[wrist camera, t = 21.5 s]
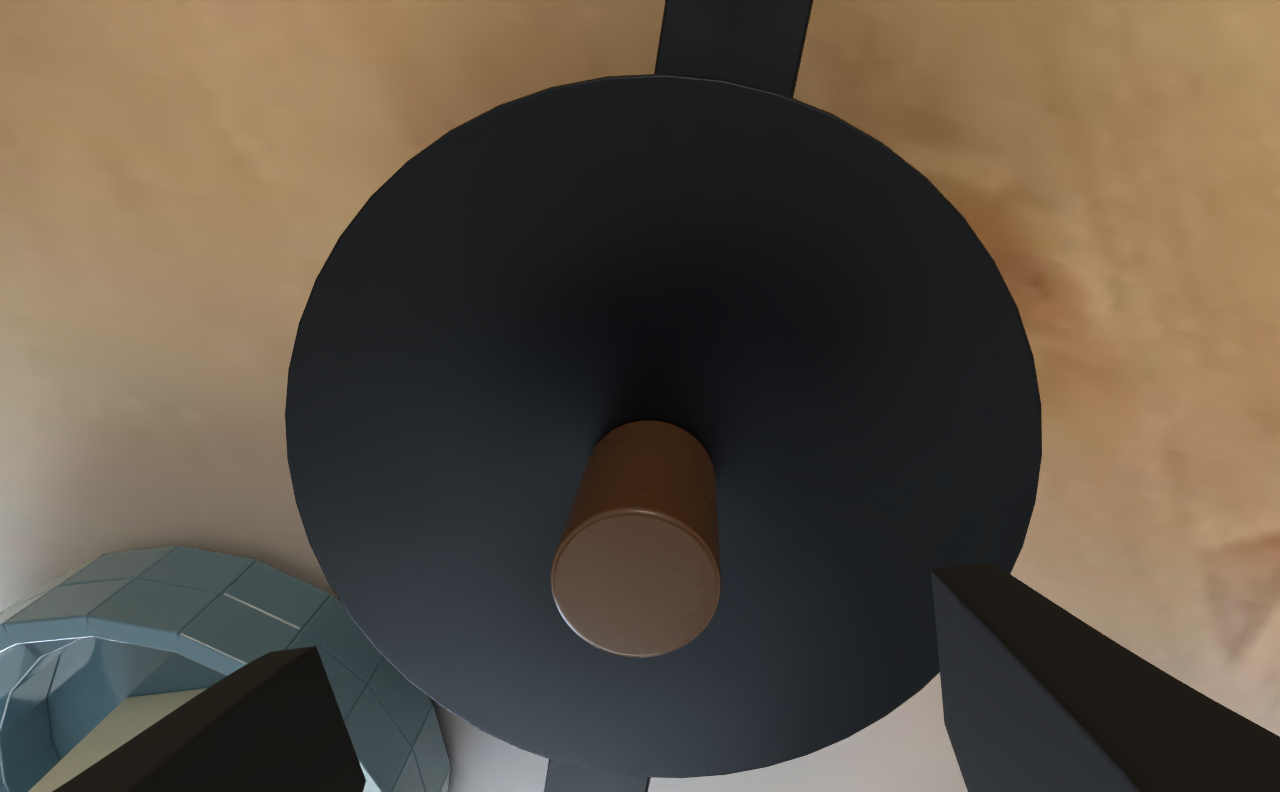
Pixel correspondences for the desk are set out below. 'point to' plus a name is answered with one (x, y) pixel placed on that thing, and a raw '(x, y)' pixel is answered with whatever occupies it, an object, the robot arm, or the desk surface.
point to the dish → (193, 658)
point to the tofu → (113, 734)
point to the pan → (739, 52)
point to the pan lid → (660, 423)
